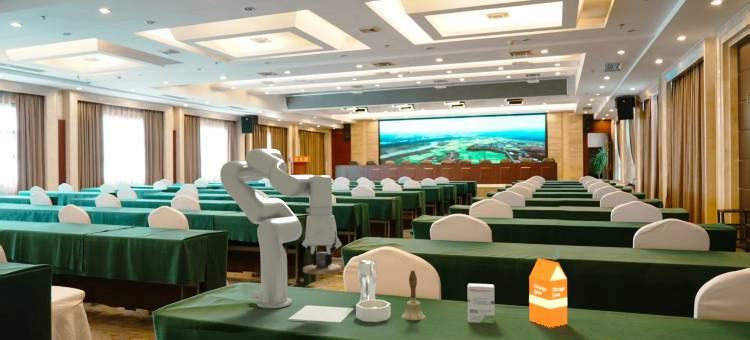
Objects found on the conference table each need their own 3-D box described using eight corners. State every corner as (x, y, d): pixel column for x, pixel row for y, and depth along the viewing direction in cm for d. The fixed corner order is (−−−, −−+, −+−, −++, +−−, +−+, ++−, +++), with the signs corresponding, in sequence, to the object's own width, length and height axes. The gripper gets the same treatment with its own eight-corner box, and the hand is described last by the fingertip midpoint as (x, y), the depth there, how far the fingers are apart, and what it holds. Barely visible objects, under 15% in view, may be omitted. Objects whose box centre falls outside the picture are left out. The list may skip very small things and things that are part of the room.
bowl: (353, 322, 168) (353, 307, 168) (362, 313, 178) (361, 298, 178) (385, 325, 165) (385, 309, 165) (392, 315, 176) (392, 300, 175)
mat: (288, 320, 170) (288, 318, 170) (306, 307, 186) (306, 305, 186) (340, 324, 166) (340, 322, 166) (354, 309, 182) (354, 308, 182)
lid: (296, 273, 171) (296, 255, 171) (311, 265, 184) (311, 249, 183) (333, 275, 168) (333, 256, 168) (346, 267, 180) (345, 250, 180)
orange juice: (549, 328, 160) (549, 264, 160) (529, 320, 168) (528, 259, 167) (567, 324, 164) (567, 261, 163) (546, 316, 171) (546, 256, 171)
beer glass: (378, 299, 195) (377, 260, 195) (376, 304, 188) (375, 263, 188) (359, 299, 196) (359, 259, 195) (357, 304, 189) (356, 263, 188)
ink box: (494, 319, 169) (494, 283, 169) (494, 324, 165) (494, 287, 164) (468, 317, 171) (468, 282, 171) (467, 322, 167) (467, 286, 166)
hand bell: (427, 321, 168) (427, 273, 167) (402, 322, 167) (402, 273, 167) (423, 314, 176) (423, 267, 175) (399, 315, 175) (399, 268, 175)
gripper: (293, 212, 174) (294, 266, 174) (341, 212, 170) (342, 268, 170) (302, 210, 181) (303, 262, 181) (347, 210, 177) (348, 263, 177)
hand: (322, 264), depth 176 cm, fingers closed on lid, 4 cm apart
